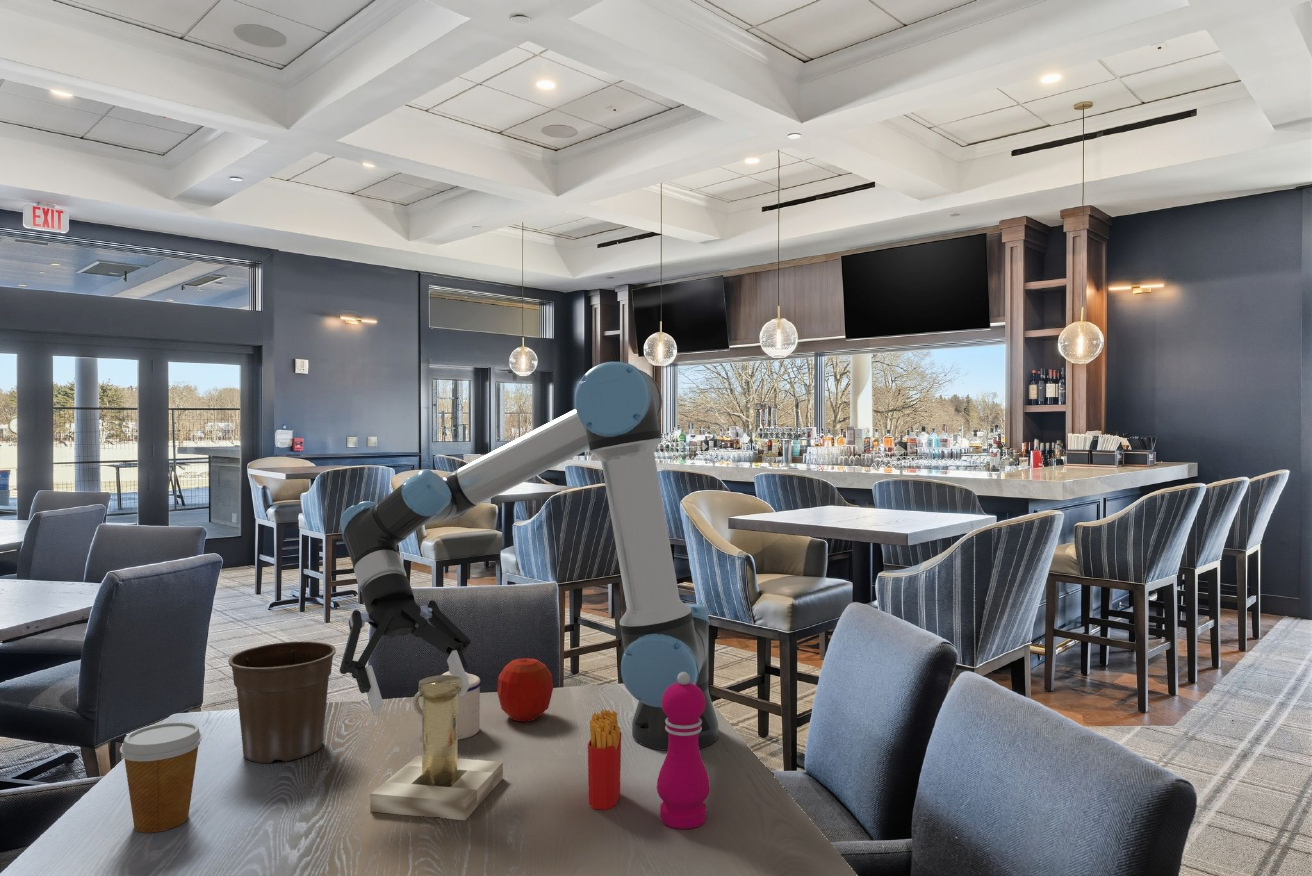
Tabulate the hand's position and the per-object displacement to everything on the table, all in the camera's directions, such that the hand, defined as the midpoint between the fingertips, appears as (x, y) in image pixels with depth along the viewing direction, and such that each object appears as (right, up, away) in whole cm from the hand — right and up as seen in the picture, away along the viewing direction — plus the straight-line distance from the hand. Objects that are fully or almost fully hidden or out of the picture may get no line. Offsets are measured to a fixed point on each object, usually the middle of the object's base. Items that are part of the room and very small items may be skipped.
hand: (423, 700), depth 121 cm
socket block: (+3, -13, -3) cm, 13 cm away
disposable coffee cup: (-32, -13, -11) cm, 36 cm away
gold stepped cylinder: (+3, -13, -3) cm, 13 cm away
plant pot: (-27, -13, +14) cm, 33 cm away
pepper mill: (+38, -13, -10) cm, 42 cm away
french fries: (+27, -13, -4) cm, 31 cm away
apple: (+10, -13, +31) cm, 35 cm away
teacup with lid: (-2, -13, +23) cm, 26 cm away
